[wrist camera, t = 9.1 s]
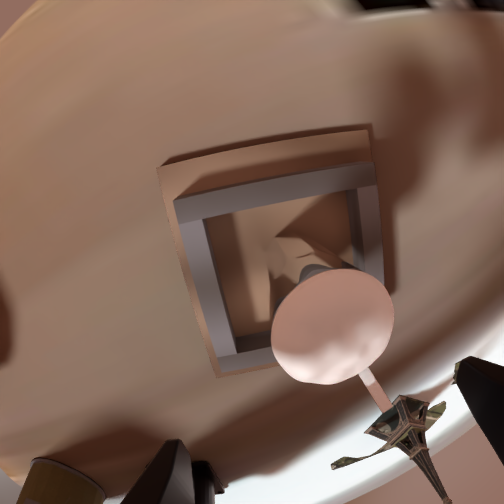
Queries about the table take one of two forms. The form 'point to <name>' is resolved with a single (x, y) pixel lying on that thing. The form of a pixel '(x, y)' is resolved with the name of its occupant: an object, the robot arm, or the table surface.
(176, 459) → the robot arm
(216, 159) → the frame
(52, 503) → the canister
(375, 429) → the eiffel tower figurine
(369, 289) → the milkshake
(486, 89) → the table surface
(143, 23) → the table surface
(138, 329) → the table surface
